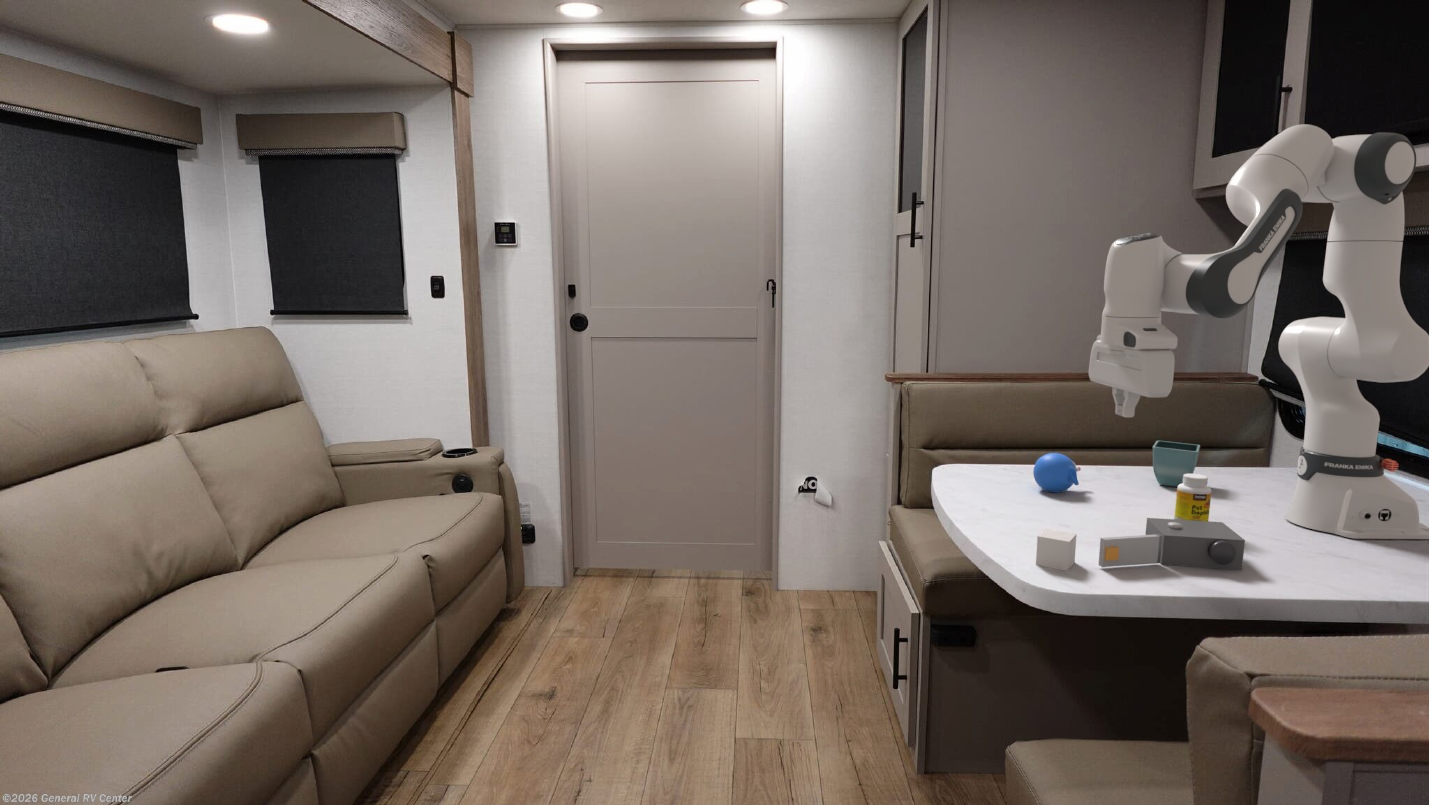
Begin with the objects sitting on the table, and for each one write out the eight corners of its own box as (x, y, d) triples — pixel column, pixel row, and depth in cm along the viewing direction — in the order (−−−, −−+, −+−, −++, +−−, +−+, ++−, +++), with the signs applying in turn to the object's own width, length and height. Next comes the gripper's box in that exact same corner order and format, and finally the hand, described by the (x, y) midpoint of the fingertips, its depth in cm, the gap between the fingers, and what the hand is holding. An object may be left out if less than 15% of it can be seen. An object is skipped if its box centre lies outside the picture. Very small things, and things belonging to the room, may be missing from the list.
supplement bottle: (1188, 534, 158) (1194, 480, 156) (1166, 525, 163) (1171, 473, 161) (1214, 532, 159) (1220, 478, 157) (1191, 523, 164) (1196, 471, 162)
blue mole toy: (1101, 494, 185) (1104, 455, 184) (1061, 500, 180) (1064, 461, 179) (1057, 481, 196) (1059, 445, 194) (1018, 487, 191) (1020, 449, 189)
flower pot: (1196, 483, 195) (1200, 444, 193) (1194, 491, 187) (1197, 451, 186) (1153, 478, 199) (1156, 439, 198) (1149, 486, 192) (1152, 446, 190)
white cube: (1074, 562, 143) (1076, 533, 142) (1067, 571, 139) (1069, 541, 138) (1043, 556, 146) (1045, 528, 145) (1035, 565, 142) (1037, 536, 141)
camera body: (1219, 550, 149) (1222, 518, 148) (1245, 573, 138) (1249, 539, 137) (1144, 545, 151) (1147, 514, 151) (1164, 567, 140) (1167, 534, 139)
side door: (1098, 565, 140) (1100, 537, 140) (1157, 561, 142) (1159, 534, 142) (1104, 568, 139) (1106, 541, 138) (1164, 564, 141) (1166, 537, 140)
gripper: (1081, 328, 153) (1077, 405, 155) (1144, 339, 133) (1138, 427, 135) (1116, 328, 153) (1111, 405, 155) (1184, 338, 133) (1177, 427, 135)
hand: (1124, 416), depth 145 cm, fingers closed
